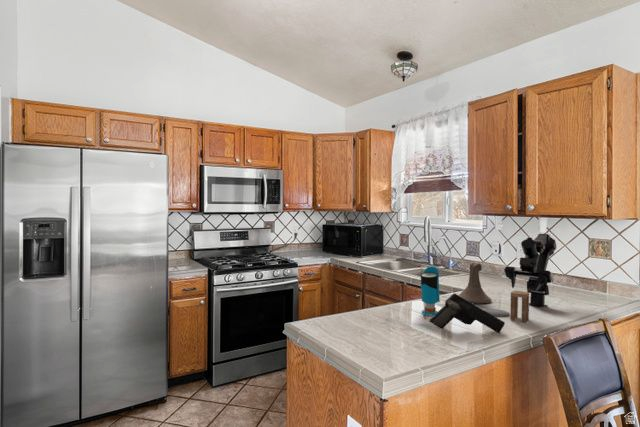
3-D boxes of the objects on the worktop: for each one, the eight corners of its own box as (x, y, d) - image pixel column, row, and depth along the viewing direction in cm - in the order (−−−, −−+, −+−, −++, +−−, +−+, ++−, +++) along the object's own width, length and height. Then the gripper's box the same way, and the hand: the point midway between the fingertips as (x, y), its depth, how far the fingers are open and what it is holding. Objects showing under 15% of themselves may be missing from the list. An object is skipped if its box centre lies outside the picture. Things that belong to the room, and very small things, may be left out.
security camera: (416, 267, 170) (427, 265, 178) (416, 313, 171) (426, 309, 178) (434, 269, 165) (444, 267, 172) (433, 317, 165) (443, 312, 172)
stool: (514, 316, 167) (514, 290, 166) (528, 319, 163) (529, 292, 162) (510, 319, 162) (510, 292, 162) (525, 322, 158) (525, 294, 158)
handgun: (485, 355, 146) (505, 323, 145) (429, 321, 150) (448, 290, 149) (483, 352, 149) (503, 321, 147) (429, 320, 153) (448, 289, 151)
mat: (494, 309, 179) (494, 307, 179) (515, 315, 169) (515, 313, 169) (478, 311, 175) (478, 310, 175) (498, 318, 165) (498, 316, 165)
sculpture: (497, 301, 194) (498, 263, 194) (478, 306, 184) (479, 266, 184) (468, 295, 208) (469, 259, 207) (449, 299, 198) (450, 261, 198)
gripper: (505, 249, 177) (498, 275, 169) (551, 252, 164) (545, 281, 156) (510, 264, 183) (502, 289, 175) (554, 268, 170) (548, 296, 162)
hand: (523, 289), depth 167 cm, fingers open, 9 cm apart
